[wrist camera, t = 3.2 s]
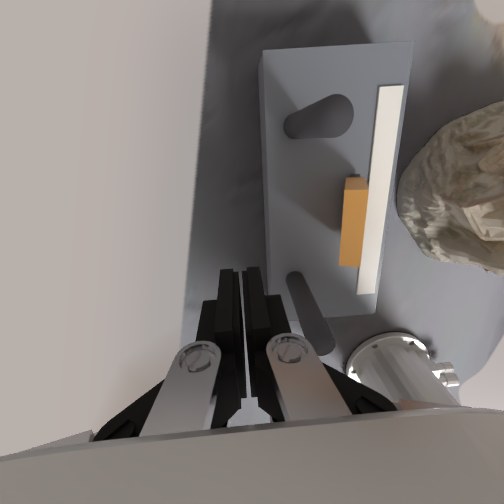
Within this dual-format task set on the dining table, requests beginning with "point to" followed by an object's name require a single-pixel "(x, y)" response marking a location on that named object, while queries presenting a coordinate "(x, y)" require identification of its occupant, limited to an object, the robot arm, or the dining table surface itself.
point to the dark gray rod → (321, 119)
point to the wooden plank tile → (353, 220)
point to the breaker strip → (330, 167)
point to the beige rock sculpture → (459, 191)
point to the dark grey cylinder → (309, 314)
